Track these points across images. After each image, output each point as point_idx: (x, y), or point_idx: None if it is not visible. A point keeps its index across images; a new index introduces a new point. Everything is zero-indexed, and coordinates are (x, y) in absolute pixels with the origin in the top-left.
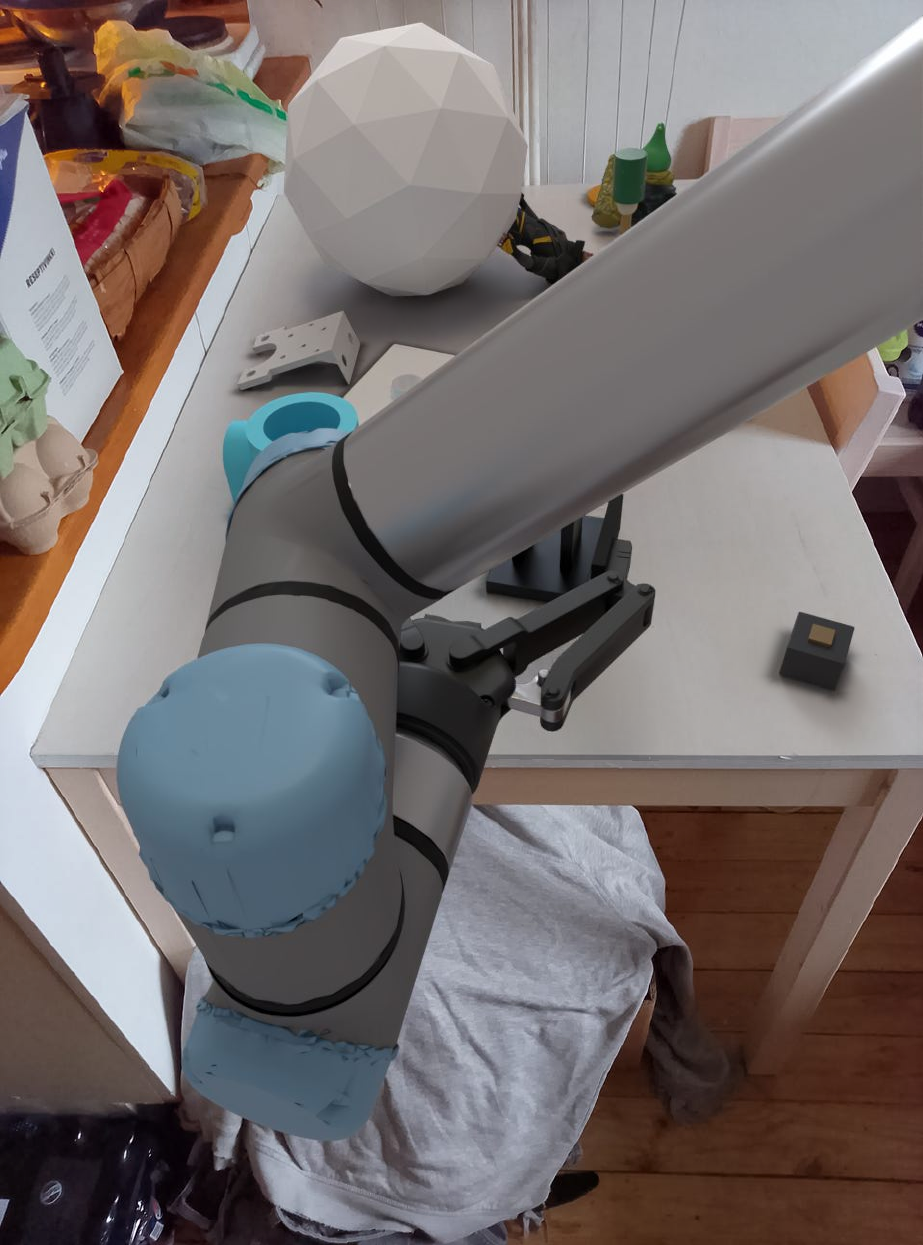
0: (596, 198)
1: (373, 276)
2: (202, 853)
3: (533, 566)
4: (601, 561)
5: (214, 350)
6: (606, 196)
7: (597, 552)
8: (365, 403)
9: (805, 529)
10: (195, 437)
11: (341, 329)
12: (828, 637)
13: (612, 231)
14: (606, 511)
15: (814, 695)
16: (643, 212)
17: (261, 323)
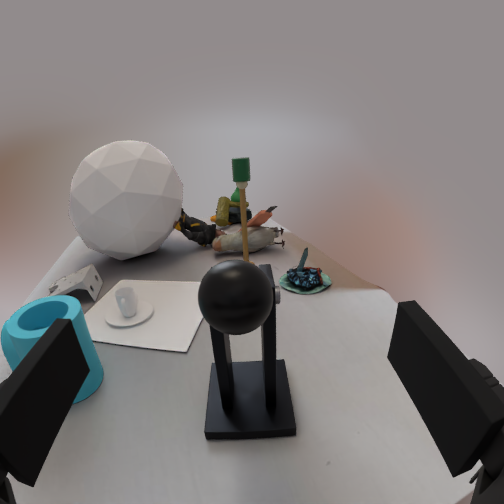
0: (214, 218)
1: (108, 245)
2: None
3: (242, 410)
4: (499, 408)
5: (32, 292)
6: (220, 212)
7: (479, 396)
8: (103, 310)
9: None
10: None
11: (90, 272)
12: None
13: (225, 227)
14: (419, 327)
15: None
16: (237, 218)
17: (57, 279)
